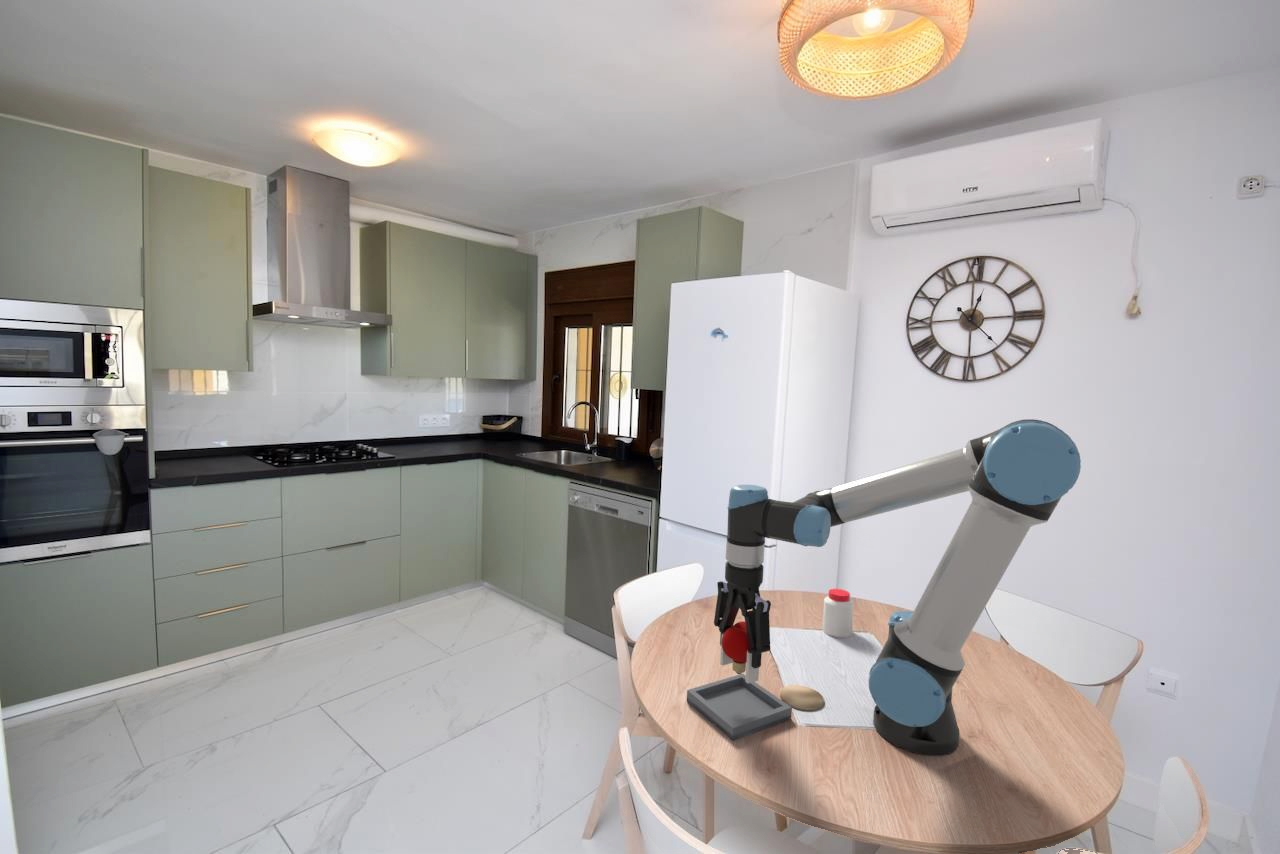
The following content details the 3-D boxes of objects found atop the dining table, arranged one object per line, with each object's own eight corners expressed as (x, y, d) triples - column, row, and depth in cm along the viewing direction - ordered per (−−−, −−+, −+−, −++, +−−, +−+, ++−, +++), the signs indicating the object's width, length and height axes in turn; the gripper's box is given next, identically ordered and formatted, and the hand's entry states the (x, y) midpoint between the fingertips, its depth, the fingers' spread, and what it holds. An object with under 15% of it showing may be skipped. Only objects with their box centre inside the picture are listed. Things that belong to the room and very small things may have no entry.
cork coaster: (832, 703, 122) (832, 701, 122) (802, 714, 118) (802, 712, 118) (801, 683, 130) (801, 681, 130) (771, 693, 126) (771, 691, 126)
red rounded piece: (743, 688, 113) (746, 638, 112) (712, 676, 117) (714, 628, 116) (764, 670, 120) (766, 623, 119) (734, 659, 124) (736, 614, 123)
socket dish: (791, 718, 116) (791, 707, 116) (732, 740, 109) (733, 728, 109) (742, 683, 129) (742, 673, 129) (686, 701, 122) (687, 690, 121)
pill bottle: (816, 628, 160) (818, 589, 159) (837, 623, 163) (839, 585, 163) (836, 639, 153) (838, 599, 152) (858, 635, 156) (860, 595, 156)
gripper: (795, 575, 110) (788, 691, 112) (727, 546, 127) (722, 647, 129) (765, 581, 106) (758, 701, 108) (699, 550, 123) (694, 654, 125)
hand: (738, 671), depth 118 cm, fingers closed on red rounded piece, 7 cm apart
